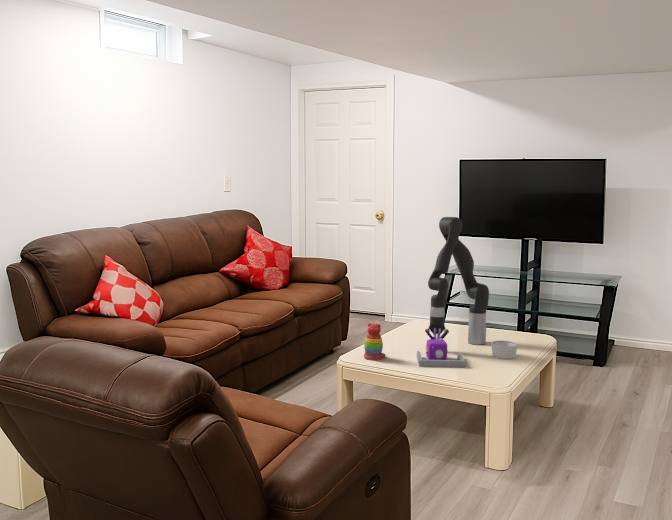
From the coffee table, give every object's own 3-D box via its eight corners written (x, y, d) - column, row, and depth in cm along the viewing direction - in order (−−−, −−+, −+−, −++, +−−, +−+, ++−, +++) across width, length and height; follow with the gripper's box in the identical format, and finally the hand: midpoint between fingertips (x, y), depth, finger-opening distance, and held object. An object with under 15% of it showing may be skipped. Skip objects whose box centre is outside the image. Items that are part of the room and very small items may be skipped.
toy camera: (431, 364, 344) (432, 344, 343) (422, 357, 357) (422, 337, 356) (452, 363, 347) (453, 343, 345) (442, 355, 360) (442, 336, 358)
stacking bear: (386, 356, 358) (387, 322, 356) (381, 361, 349) (381, 326, 346) (366, 354, 362) (366, 320, 359) (360, 359, 352) (360, 324, 350)
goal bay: (460, 357, 356) (460, 352, 356) (464, 367, 340) (464, 361, 339) (416, 356, 357) (416, 351, 357) (419, 366, 341) (419, 360, 340)
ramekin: (499, 351, 369) (500, 338, 369) (522, 356, 360) (522, 343, 359) (485, 356, 360) (486, 343, 359) (508, 361, 351) (508, 348, 350)
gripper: (449, 313, 370) (448, 345, 373) (424, 313, 371) (423, 345, 373) (450, 316, 363) (450, 349, 365) (425, 316, 363) (424, 348, 366)
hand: (436, 347), depth 369 cm, fingers closed
